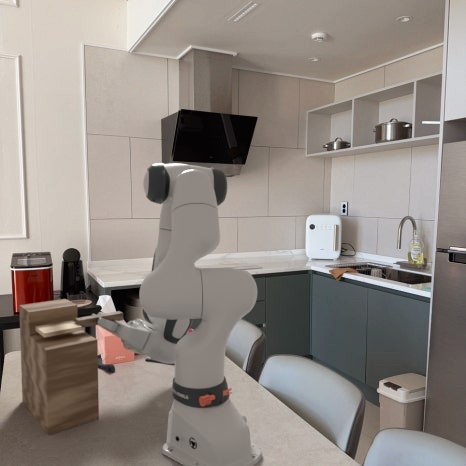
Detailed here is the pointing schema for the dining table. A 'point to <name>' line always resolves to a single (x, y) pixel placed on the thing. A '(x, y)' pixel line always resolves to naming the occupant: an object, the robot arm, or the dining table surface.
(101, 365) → the dark grey t-shaped piece
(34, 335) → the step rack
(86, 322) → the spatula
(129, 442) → the dining table surface
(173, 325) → the robot arm
